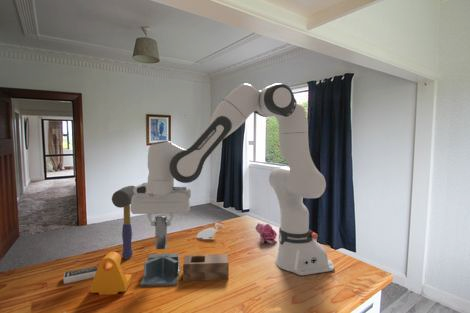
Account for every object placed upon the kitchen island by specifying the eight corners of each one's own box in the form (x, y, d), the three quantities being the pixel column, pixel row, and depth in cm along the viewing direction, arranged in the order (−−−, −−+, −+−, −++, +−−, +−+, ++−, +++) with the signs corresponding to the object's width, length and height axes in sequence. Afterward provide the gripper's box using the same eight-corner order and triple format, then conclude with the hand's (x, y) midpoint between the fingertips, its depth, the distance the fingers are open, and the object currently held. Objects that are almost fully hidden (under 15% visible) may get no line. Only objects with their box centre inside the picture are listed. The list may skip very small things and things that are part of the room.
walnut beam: (227, 269, 99) (227, 254, 99) (228, 279, 92) (228, 262, 92) (185, 270, 98) (185, 255, 97) (183, 280, 91) (183, 264, 90)
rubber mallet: (130, 265, 102) (129, 190, 100) (111, 265, 102) (109, 189, 100) (141, 251, 114) (141, 184, 112) (125, 251, 114) (123, 184, 112)
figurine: (224, 237, 132) (224, 221, 131) (224, 241, 127) (224, 224, 127) (196, 238, 131) (196, 221, 130) (196, 241, 126) (196, 224, 126)
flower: (278, 247, 127) (282, 235, 121) (260, 251, 124) (262, 239, 118) (270, 228, 135) (273, 216, 129) (252, 232, 133) (254, 219, 127)
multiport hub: (110, 274, 95) (110, 268, 95) (63, 284, 89) (63, 277, 88) (109, 269, 99) (109, 263, 99) (65, 278, 93) (64, 272, 92)
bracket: (132, 281, 90) (131, 248, 89) (125, 293, 83) (124, 257, 82) (100, 282, 89) (99, 248, 89) (90, 295, 82) (89, 258, 81)
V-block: (180, 267, 100) (180, 252, 100) (176, 285, 88) (176, 268, 88) (148, 269, 99) (148, 253, 98) (140, 286, 87) (140, 269, 87)
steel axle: (167, 244, 94) (167, 215, 94) (165, 249, 90) (165, 218, 90) (156, 245, 94) (156, 215, 93) (154, 249, 90) (154, 218, 89)
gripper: (191, 185, 95) (191, 222, 96) (134, 185, 93) (134, 223, 94) (190, 188, 89) (189, 227, 90) (128, 188, 87) (129, 229, 88)
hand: (161, 225), depth 92 cm, fingers closed on steel axle, 4 cm apart
